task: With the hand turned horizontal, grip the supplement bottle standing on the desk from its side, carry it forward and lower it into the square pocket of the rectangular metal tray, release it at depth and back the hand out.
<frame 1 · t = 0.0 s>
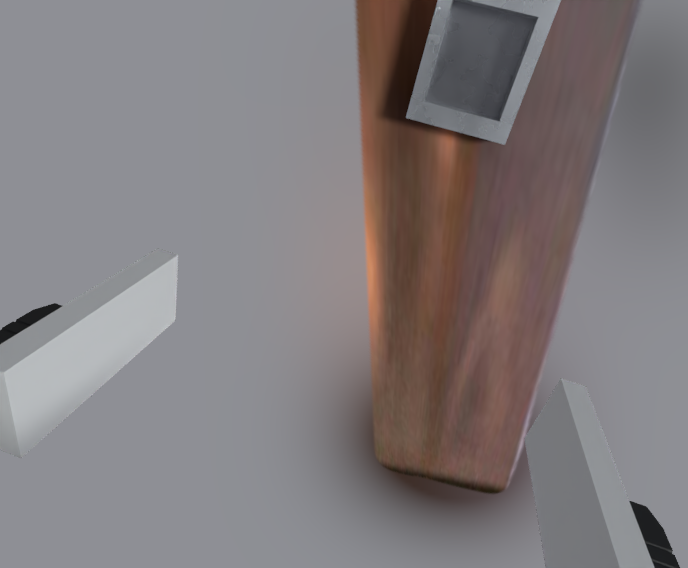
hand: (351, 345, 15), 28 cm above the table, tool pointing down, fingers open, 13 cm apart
rectangular metal tray: (476, 61, 35), on the table
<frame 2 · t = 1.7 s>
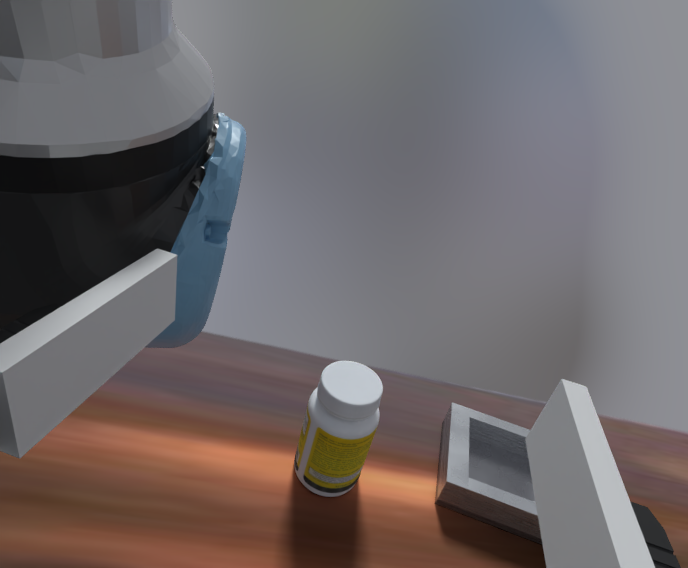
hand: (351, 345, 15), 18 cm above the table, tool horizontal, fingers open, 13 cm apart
rectangular metal tray: (502, 482, 34), on the table
supplement bottle: (325, 469, 32), on the table
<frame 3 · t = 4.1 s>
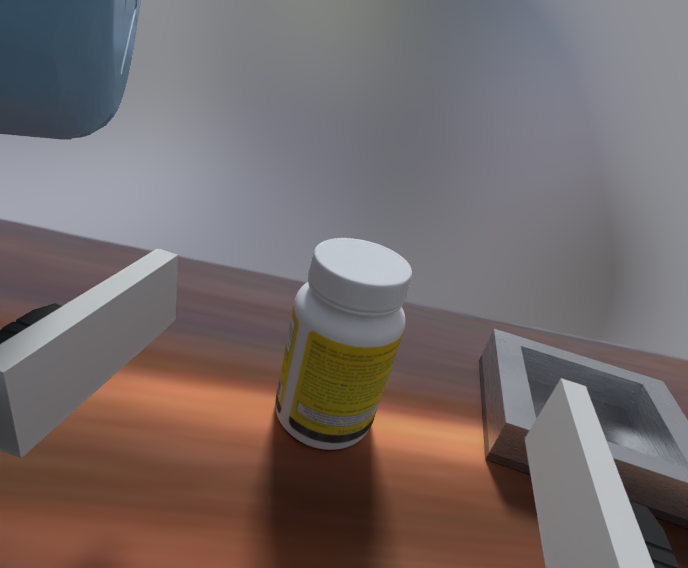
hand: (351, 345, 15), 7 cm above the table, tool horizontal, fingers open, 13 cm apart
rectangular metal tray: (572, 432, 24), on the table
supplement bottle: (322, 415, 22), on the table
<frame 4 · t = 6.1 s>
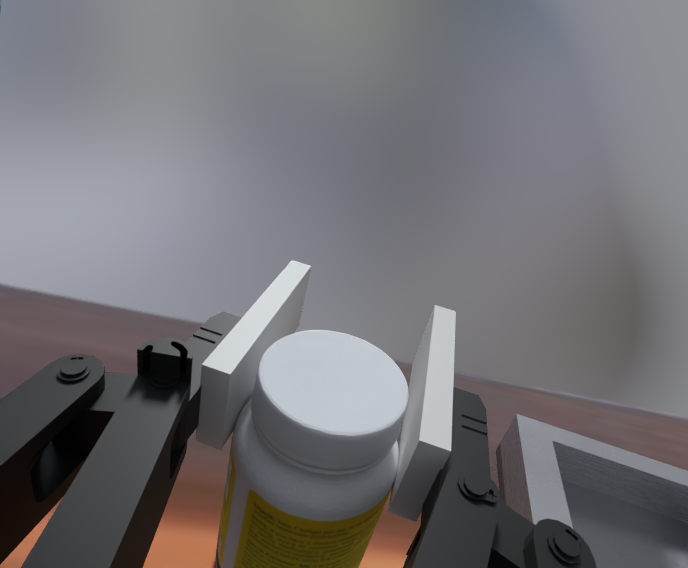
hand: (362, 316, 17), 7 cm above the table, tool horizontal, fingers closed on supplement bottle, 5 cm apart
rectangular metal tray: (624, 566, 18), on the table
supplement bottle: (284, 560, 16), on the table, touching gripper
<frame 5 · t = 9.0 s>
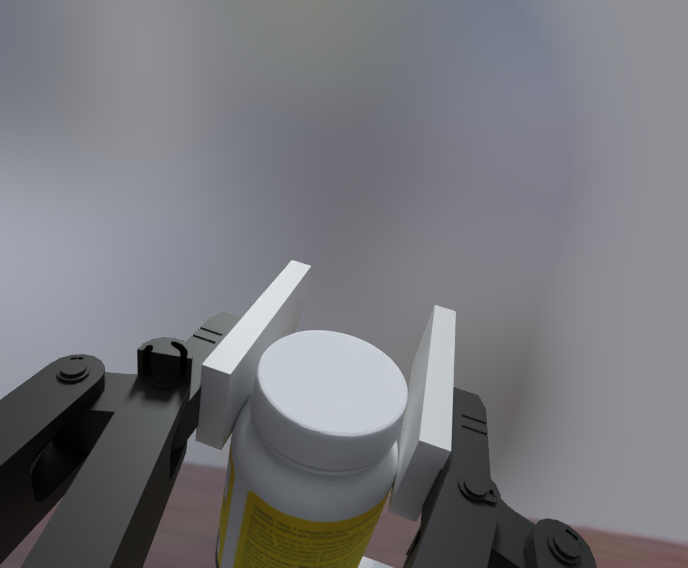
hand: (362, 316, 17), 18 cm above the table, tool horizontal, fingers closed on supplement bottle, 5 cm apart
supplement bottle: (283, 560, 16), point 11 cm above the table, touching gripper
when the fingers open (8 cm above the table, at t = 11.8 s): supplement bottle stays where it is, resting on rectangular metal tray.
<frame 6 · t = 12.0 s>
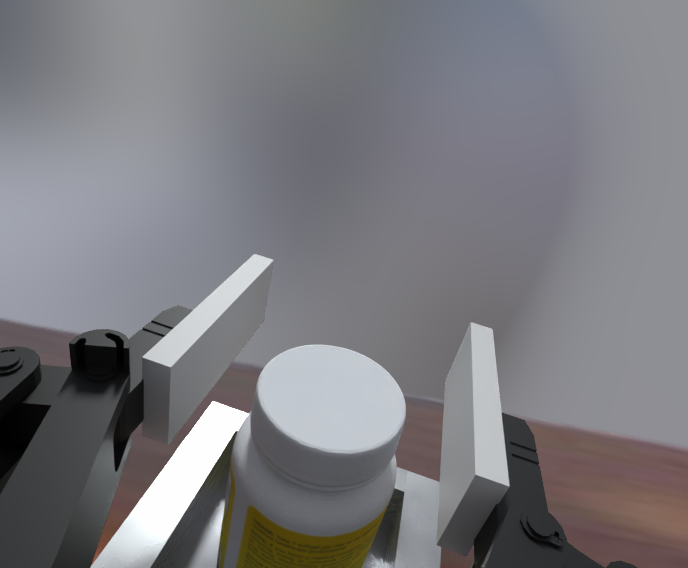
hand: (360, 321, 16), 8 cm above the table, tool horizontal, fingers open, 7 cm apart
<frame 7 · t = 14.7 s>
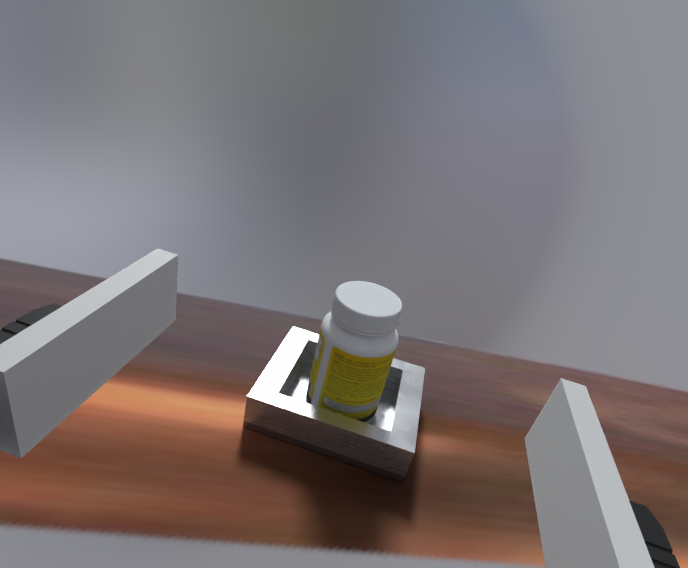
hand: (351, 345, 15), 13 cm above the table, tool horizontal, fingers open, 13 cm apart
rectangular metal tray: (337, 408, 30), on the table
supplement bottle: (339, 406, 30), resting on rectangular metal tray
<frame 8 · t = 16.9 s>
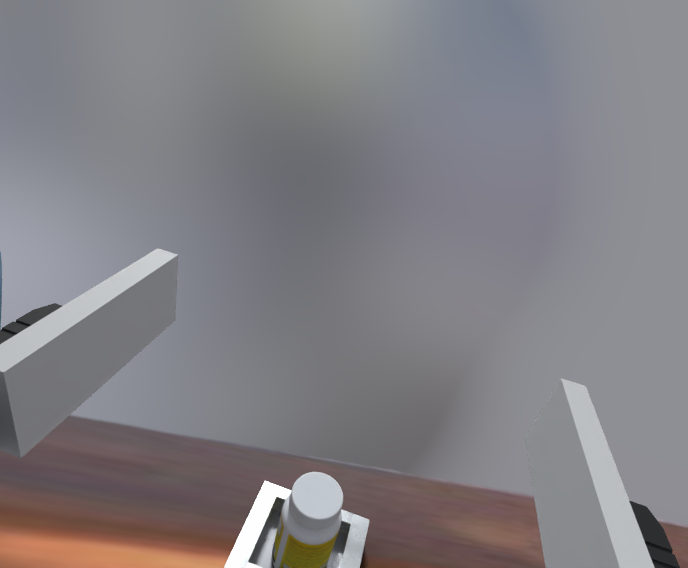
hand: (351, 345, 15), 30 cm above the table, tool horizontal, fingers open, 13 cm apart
rectangular metal tray: (297, 558, 38), on the table
supplement bottle: (298, 557, 38), resting on rectangular metal tray
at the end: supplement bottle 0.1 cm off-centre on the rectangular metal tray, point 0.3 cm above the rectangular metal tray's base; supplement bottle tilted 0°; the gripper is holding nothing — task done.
